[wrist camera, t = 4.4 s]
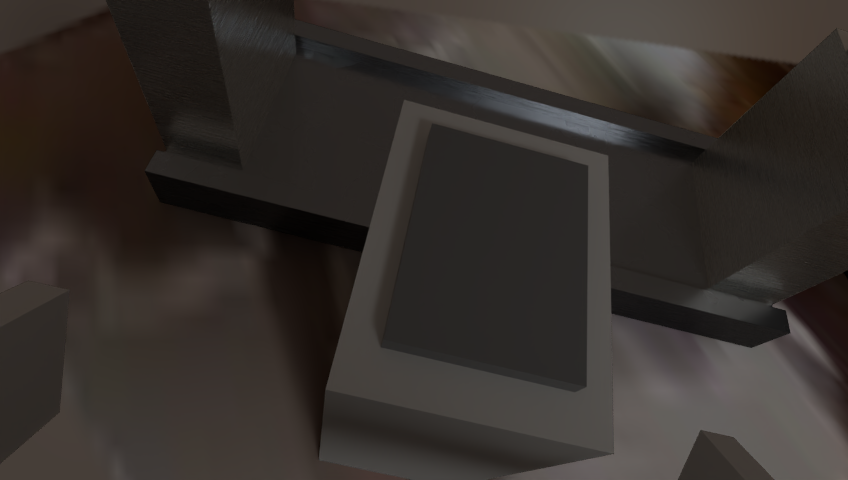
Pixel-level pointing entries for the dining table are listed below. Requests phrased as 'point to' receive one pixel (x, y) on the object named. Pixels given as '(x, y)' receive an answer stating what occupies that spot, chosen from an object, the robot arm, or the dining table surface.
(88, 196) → the dining table surface
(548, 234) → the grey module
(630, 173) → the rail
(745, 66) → the dining table surface
